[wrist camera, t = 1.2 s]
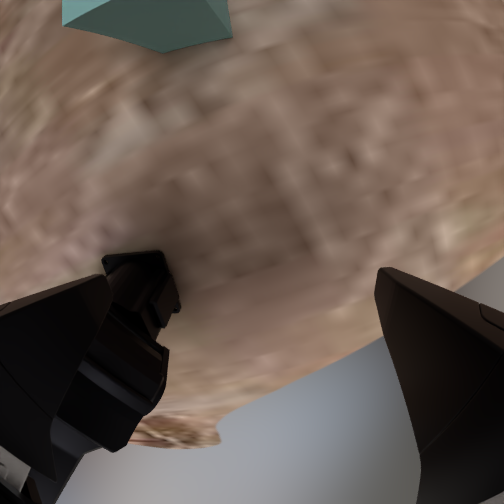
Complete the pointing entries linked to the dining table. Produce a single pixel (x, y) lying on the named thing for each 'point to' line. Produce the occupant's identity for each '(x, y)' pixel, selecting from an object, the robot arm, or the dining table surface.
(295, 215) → the dining table surface
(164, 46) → the teal block
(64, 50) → the dining table surface
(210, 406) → the dining table surface
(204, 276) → the dining table surface
